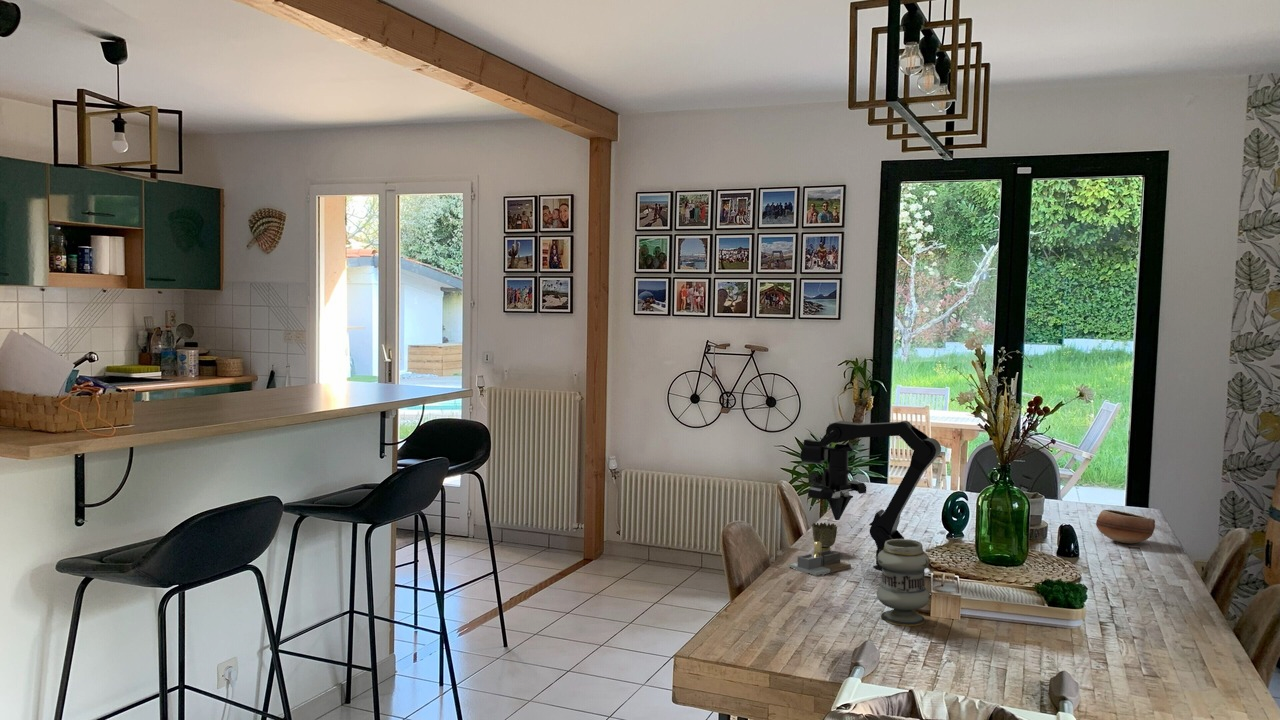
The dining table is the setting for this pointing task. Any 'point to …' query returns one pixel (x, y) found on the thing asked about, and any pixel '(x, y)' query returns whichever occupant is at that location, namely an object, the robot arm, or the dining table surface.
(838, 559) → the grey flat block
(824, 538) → the cup
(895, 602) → the apothecary jar
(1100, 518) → the bowl
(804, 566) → the jamb keeper
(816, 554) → the bolt
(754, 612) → the dining table surface
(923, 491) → the dining table surface
